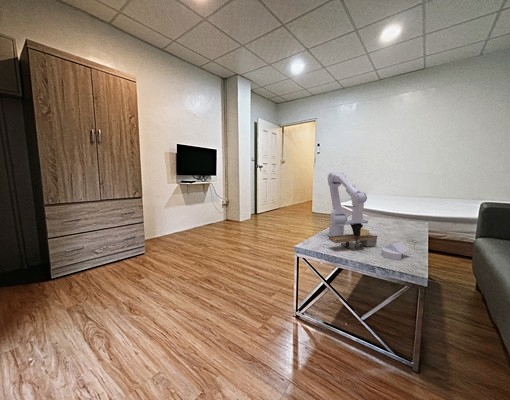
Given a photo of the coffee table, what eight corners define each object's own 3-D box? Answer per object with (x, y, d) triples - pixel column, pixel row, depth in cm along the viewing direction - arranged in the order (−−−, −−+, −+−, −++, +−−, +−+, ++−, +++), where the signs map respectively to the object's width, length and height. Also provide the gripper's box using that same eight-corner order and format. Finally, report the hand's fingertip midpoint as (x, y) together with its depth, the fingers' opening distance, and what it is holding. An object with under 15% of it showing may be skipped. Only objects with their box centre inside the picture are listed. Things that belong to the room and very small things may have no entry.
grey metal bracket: (340, 244, 129) (341, 234, 128) (351, 243, 131) (352, 233, 130) (352, 250, 119) (353, 239, 118) (363, 249, 121) (364, 238, 120)
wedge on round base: (391, 250, 120) (377, 254, 114) (392, 239, 119) (378, 242, 113) (408, 256, 113) (394, 261, 107) (410, 244, 112) (396, 248, 106)
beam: (328, 245, 124) (329, 236, 123) (368, 241, 132) (368, 232, 131) (335, 249, 118) (336, 239, 117) (376, 245, 126) (377, 235, 125)
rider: (355, 235, 127) (355, 229, 126) (363, 234, 129) (363, 228, 128) (359, 237, 123) (360, 231, 123) (368, 237, 125) (368, 230, 124)
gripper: (352, 215, 117) (350, 238, 119) (373, 214, 121) (370, 236, 123) (343, 212, 123) (341, 235, 125) (363, 211, 127) (361, 233, 129)
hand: (355, 235), depth 125 cm, fingers closed
